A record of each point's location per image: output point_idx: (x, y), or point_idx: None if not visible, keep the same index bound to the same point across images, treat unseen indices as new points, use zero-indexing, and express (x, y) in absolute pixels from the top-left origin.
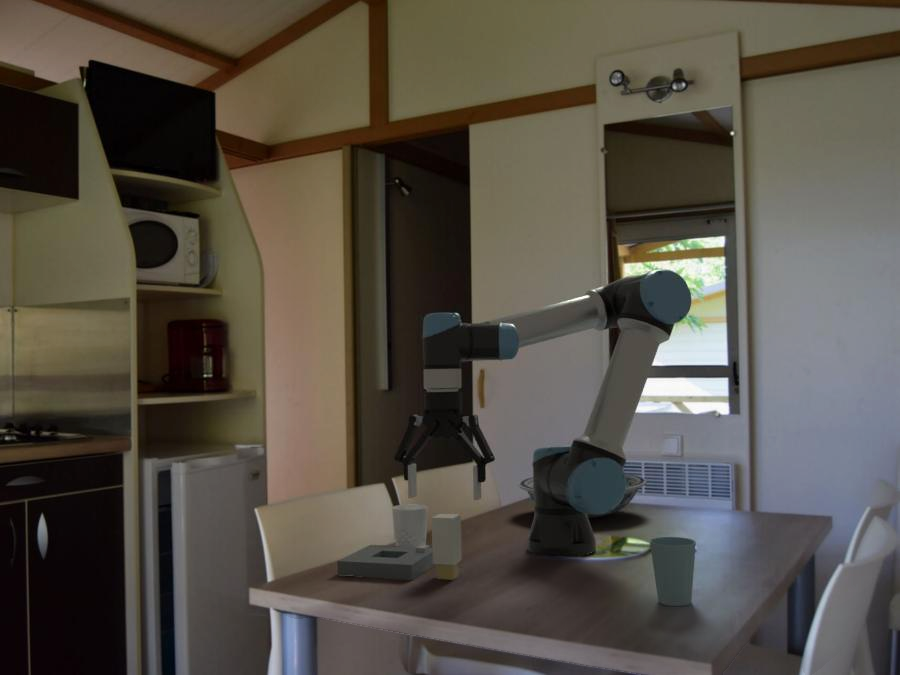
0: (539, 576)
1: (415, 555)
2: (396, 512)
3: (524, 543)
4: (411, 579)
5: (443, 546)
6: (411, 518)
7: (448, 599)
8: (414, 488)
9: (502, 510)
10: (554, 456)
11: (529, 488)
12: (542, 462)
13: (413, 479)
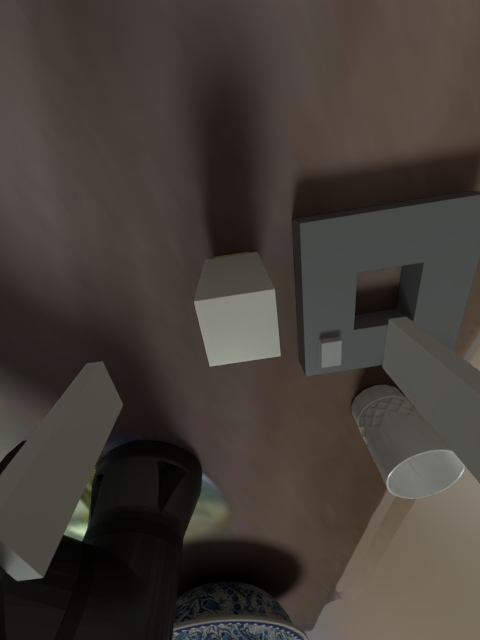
0: (81, 337)
1: (327, 307)
2: (446, 444)
3: (223, 487)
4: (293, 219)
5: (231, 267)
6: (402, 439)
7: (129, 81)
8: (407, 370)
9: (328, 587)
10: None
11: (276, 624)
12: None
13: (442, 393)
